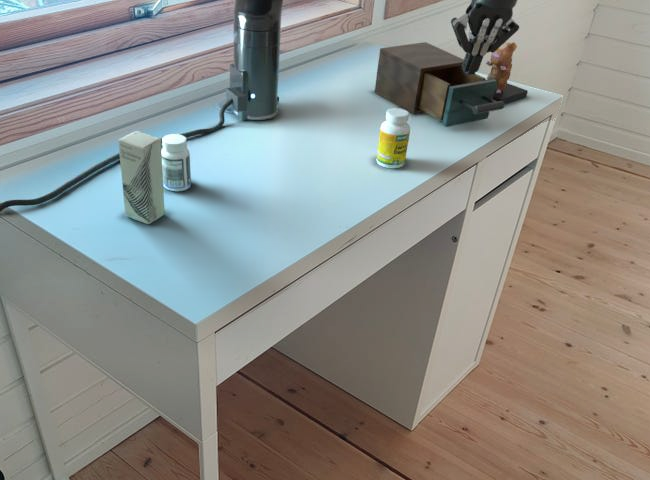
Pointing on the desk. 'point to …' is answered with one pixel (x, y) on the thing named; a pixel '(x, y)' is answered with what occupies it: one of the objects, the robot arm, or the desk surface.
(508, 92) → the figurine
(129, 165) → the box
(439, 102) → the drawer
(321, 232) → the desk surface
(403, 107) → the cabinet
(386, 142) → the supplement bottle
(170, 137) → the pill bottle
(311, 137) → the desk surface
